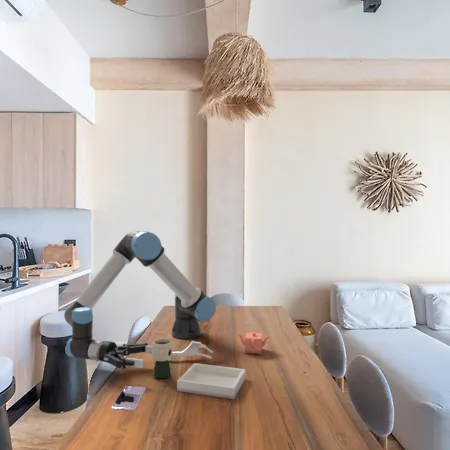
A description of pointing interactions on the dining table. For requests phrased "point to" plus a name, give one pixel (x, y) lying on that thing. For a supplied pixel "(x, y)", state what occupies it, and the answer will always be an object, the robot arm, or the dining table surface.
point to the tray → (212, 380)
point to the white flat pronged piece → (193, 350)
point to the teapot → (253, 342)
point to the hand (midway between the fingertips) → (152, 357)
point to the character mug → (162, 357)
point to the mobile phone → (128, 398)
